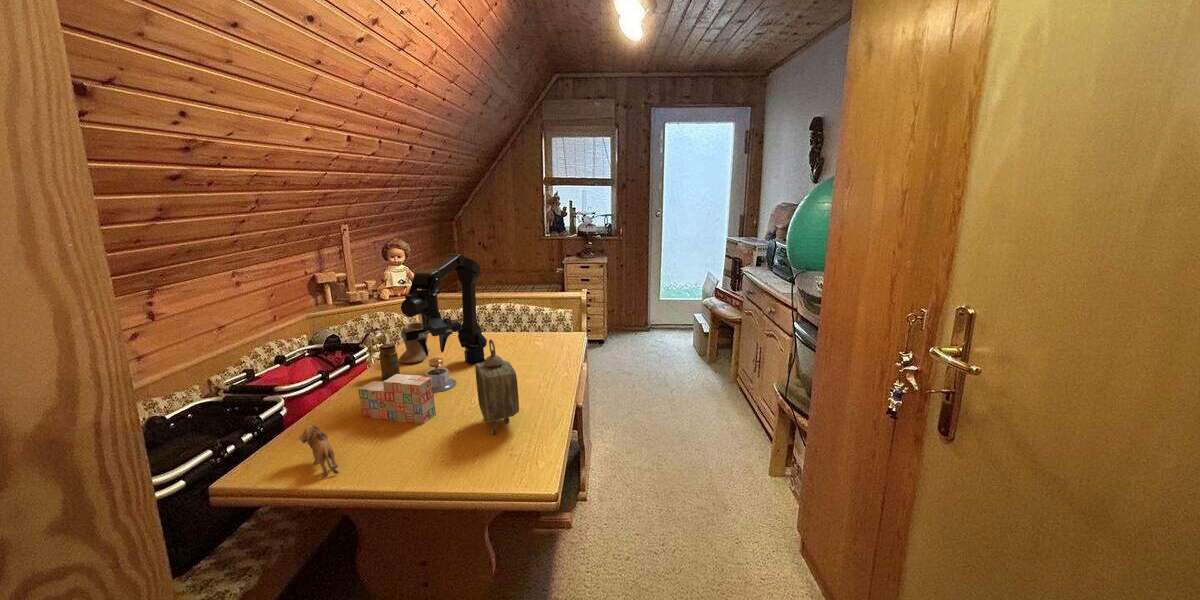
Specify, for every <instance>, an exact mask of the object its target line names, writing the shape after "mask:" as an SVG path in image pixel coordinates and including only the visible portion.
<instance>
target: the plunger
mask: <svg viewBox="0 0 1200 600" xmlns="http://www.w3.org/2000/svg"><path fill="white" fill-rule="evenodd" d="M428 364H429V365H428V366H429V367H430V368H434V369H435V370H436V375H438V368H440V367H442V366H443V364H444V362H443V358H441V357H433V358H430V359H429V360H428Z"/></svg>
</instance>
